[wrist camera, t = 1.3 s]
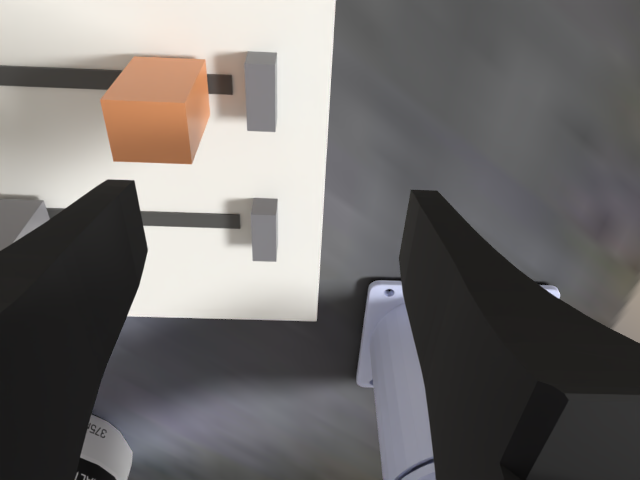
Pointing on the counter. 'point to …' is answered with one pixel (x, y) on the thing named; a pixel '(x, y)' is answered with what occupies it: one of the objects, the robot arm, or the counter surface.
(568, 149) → the counter surface
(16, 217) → the grey rectangular box
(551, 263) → the counter surface
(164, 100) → the fader orange
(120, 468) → the supplement can
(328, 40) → the panel
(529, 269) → the counter surface
